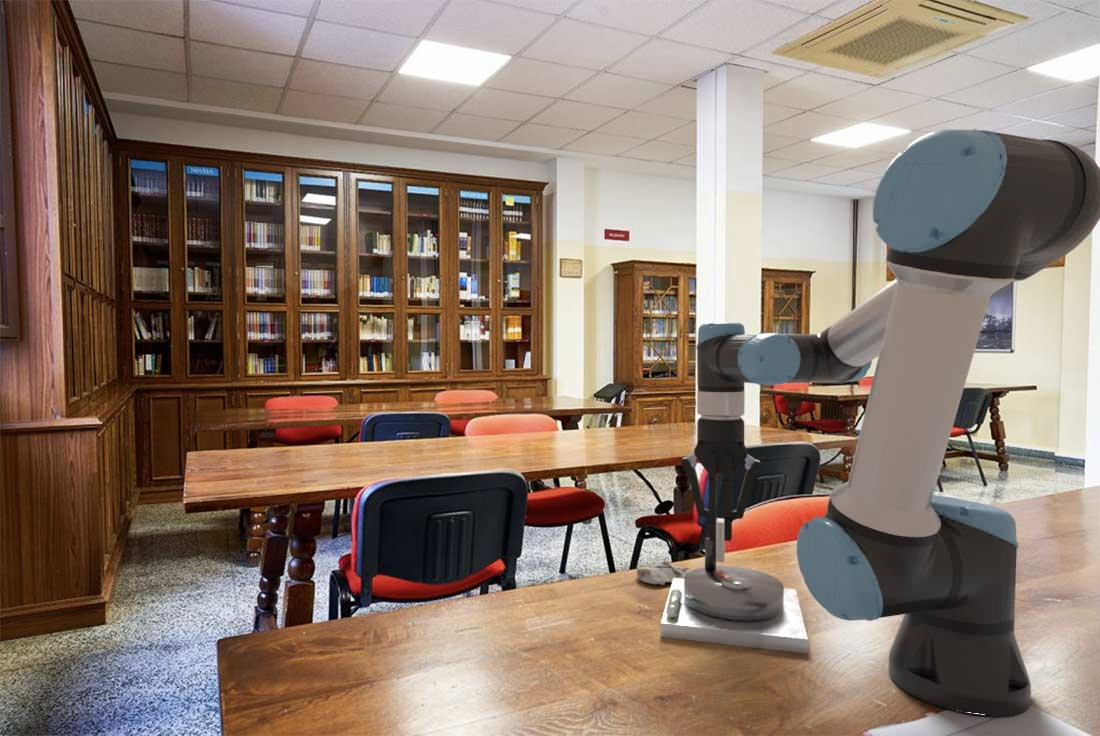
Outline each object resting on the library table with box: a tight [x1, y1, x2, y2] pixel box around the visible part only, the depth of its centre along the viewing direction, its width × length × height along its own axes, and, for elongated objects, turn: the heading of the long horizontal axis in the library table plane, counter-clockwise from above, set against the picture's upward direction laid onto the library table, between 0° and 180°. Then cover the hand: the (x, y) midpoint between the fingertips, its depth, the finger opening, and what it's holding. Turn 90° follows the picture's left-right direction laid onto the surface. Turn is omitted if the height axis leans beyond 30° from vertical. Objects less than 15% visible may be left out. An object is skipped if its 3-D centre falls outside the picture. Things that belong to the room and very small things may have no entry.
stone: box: [636, 560, 691, 586], centre depth 122 cm, size 10×7×3 cm
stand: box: [660, 578, 809, 655], centre depth 105 cm, size 20×20×4 cm
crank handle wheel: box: [684, 536, 785, 620], centre depth 106 cm, size 15×15×8 cm
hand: (720, 559), depth 112 cm, fingers closed
